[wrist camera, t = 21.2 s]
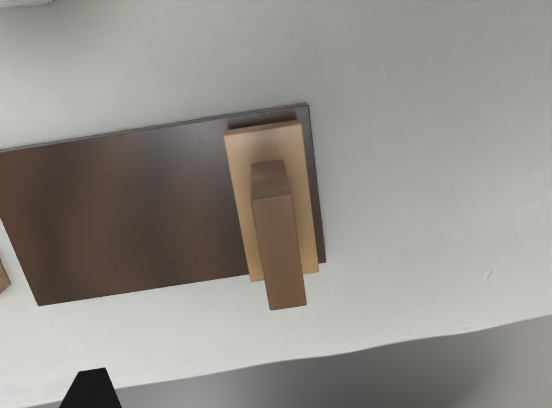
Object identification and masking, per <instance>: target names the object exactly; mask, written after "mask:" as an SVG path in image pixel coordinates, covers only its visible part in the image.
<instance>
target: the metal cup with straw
mask: <svg viewBox="0 0 552 408" xmlns="http://www.w3.org/2000/svg"><path fill="white" fill-rule="evenodd" d="M51 1H53V0H0V6H40V5H44V4H47V3H49V2H51Z"/></svg>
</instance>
